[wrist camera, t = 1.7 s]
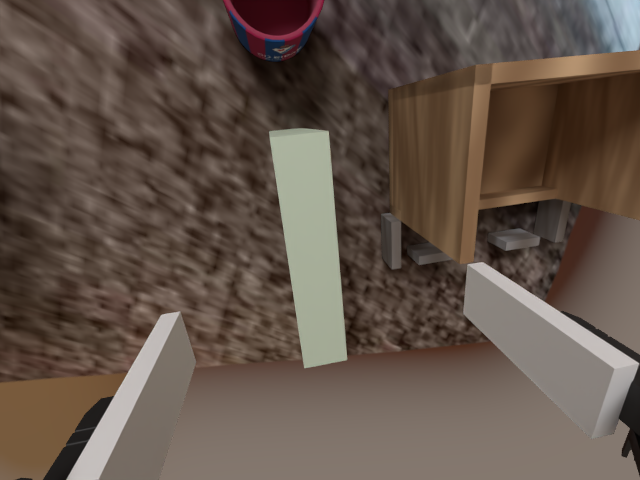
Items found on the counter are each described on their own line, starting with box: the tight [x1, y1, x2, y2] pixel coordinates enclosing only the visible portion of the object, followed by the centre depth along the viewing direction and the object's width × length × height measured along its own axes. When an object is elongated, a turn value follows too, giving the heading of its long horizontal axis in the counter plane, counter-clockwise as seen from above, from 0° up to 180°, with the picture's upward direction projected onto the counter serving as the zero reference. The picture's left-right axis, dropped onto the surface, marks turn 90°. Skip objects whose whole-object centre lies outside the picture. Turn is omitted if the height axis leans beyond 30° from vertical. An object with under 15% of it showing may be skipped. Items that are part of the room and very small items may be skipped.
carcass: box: [381, 50, 640, 269], centre depth 27 cm, size 20×17×13 cm
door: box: [269, 128, 347, 368], centre depth 25 cm, size 15×4×14 cm, turn 5°
